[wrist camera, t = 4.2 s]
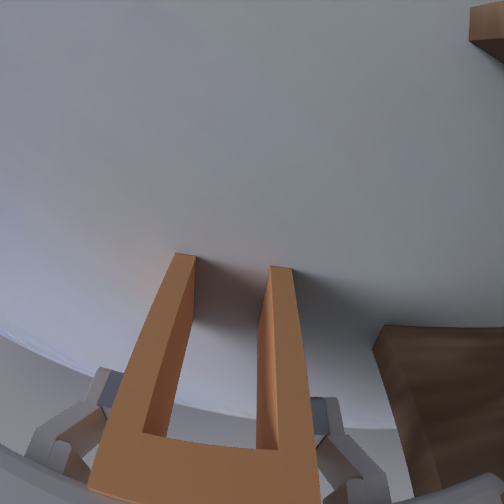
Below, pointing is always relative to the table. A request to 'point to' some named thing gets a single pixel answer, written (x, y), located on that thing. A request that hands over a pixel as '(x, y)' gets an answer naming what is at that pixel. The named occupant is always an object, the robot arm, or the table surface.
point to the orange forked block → (203, 455)
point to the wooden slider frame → (449, 369)
